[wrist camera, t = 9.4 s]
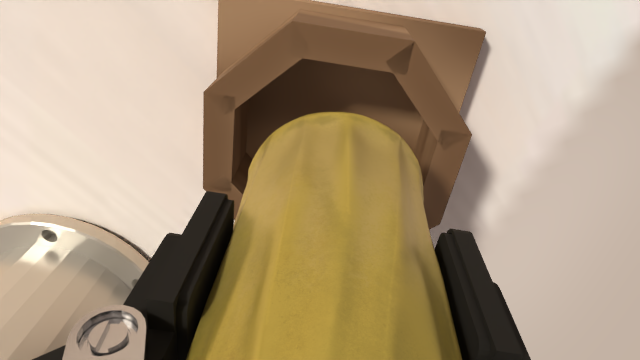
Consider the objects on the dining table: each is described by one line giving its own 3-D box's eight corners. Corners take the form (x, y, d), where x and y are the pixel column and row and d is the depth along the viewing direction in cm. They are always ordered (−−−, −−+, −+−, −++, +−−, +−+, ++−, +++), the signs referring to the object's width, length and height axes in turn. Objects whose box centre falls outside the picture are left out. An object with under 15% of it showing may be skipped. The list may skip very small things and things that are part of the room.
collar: (414, 233, 23) (425, 281, 20) (217, 203, 23) (196, 247, 19) (480, 28, 18) (512, 47, 14) (223, -14, 17) (195, -5, 14)
